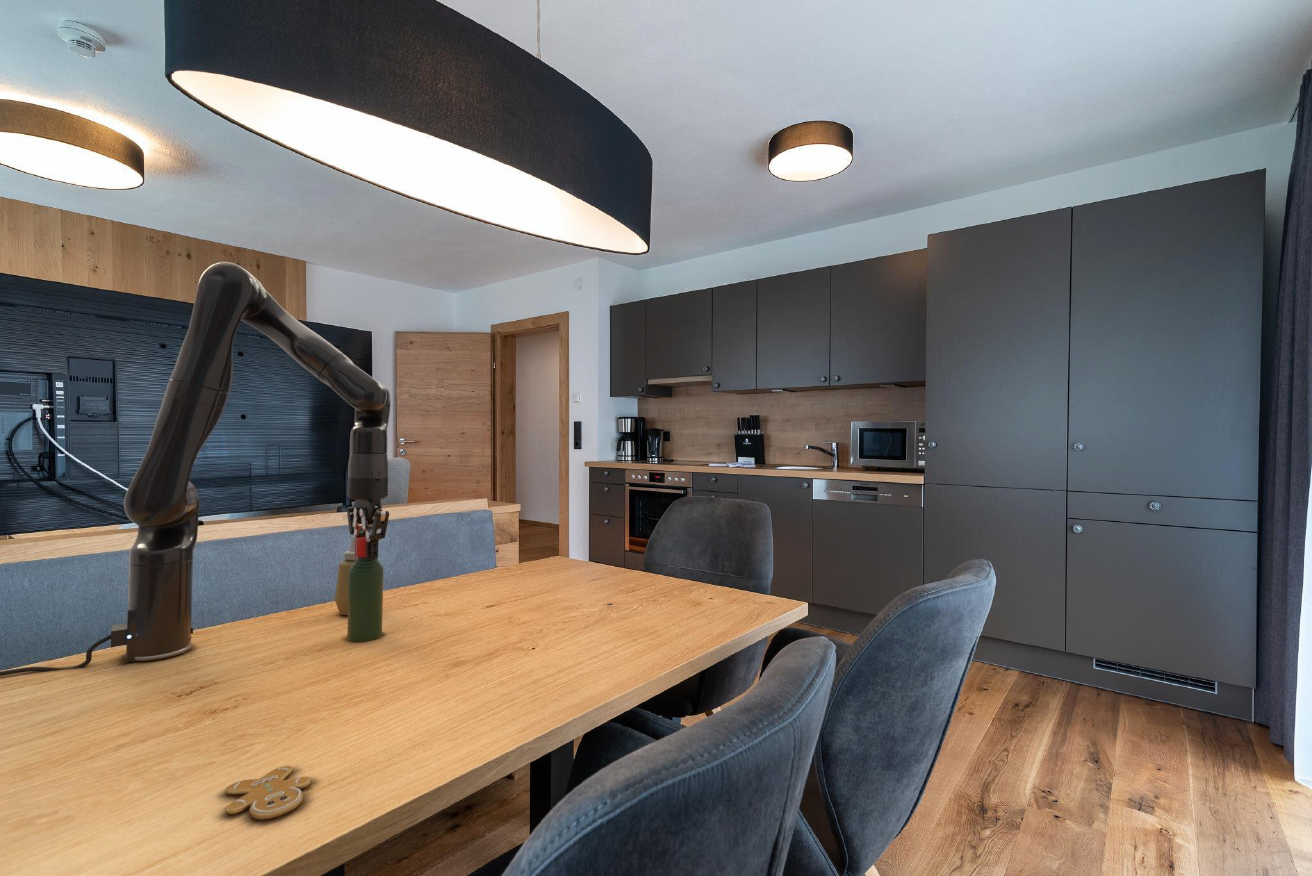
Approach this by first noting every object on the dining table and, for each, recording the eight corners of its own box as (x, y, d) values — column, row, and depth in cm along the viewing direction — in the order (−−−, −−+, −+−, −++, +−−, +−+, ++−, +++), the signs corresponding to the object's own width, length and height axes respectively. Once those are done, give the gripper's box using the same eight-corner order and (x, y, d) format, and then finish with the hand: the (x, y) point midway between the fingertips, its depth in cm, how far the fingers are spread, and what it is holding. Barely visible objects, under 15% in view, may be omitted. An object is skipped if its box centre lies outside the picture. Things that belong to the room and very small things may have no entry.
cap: (359, 558, 117) (359, 539, 117) (353, 555, 120) (354, 537, 120) (379, 556, 120) (379, 538, 120) (373, 553, 123) (374, 535, 123)
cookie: (297, 757, 72) (326, 789, 65) (296, 765, 72) (325, 798, 65) (214, 786, 65) (236, 824, 59) (214, 794, 65) (236, 834, 59)
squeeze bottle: (379, 611, 138) (381, 535, 138) (346, 619, 131) (348, 539, 131) (360, 606, 142) (361, 532, 143) (327, 613, 135) (328, 536, 136)
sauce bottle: (352, 644, 115) (354, 543, 116) (343, 635, 120) (345, 539, 120) (386, 637, 120) (388, 540, 120) (376, 629, 124) (378, 536, 125)
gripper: (334, 474, 122) (332, 556, 122) (366, 477, 113) (364, 565, 113) (369, 473, 128) (368, 551, 127) (403, 476, 119) (401, 560, 119)
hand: (366, 557), depth 120 cm, fingers open, 4 cm apart
